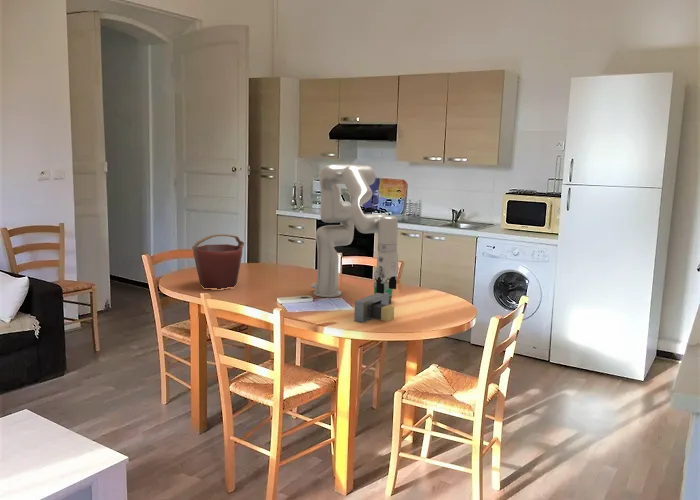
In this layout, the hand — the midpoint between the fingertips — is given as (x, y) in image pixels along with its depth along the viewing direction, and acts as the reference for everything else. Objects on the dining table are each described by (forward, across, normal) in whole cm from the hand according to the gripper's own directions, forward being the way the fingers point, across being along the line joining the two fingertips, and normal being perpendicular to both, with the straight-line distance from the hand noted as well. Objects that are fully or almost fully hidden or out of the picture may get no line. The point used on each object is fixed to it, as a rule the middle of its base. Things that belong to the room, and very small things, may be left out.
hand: (386, 290), depth 243 cm
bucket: (+10, 0, +91) cm, 91 cm away
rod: (+11, 0, +5) cm, 12 cm away
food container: (+11, +22, +13) cm, 28 cm away
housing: (+11, 0, +7) cm, 13 cm away
